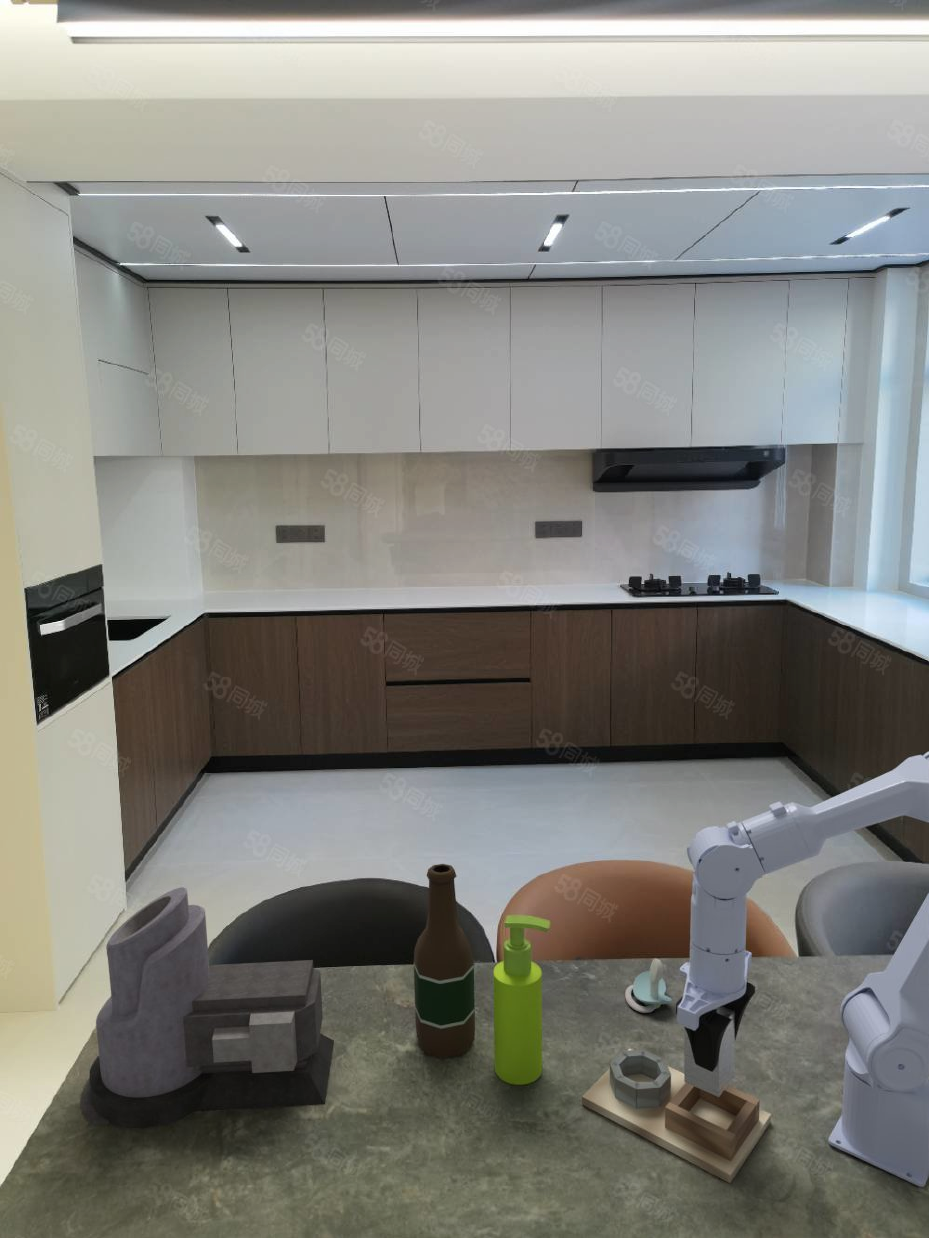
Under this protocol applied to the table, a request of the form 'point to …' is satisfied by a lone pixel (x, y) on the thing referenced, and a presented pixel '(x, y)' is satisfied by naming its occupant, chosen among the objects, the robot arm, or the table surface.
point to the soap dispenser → (518, 1005)
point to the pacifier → (648, 989)
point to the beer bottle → (443, 973)
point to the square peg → (725, 1065)
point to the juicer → (200, 1027)
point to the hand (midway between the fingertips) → (714, 1055)
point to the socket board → (679, 1112)
